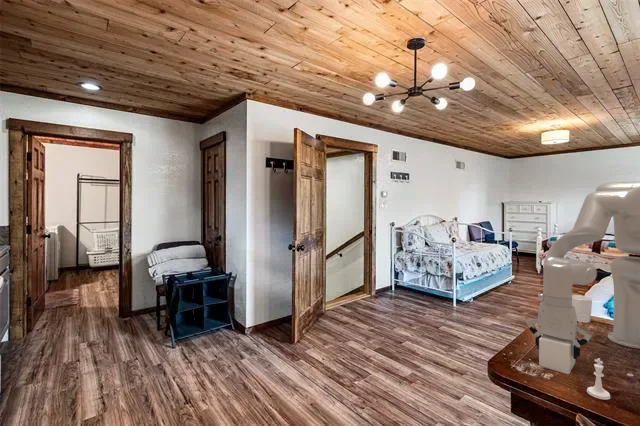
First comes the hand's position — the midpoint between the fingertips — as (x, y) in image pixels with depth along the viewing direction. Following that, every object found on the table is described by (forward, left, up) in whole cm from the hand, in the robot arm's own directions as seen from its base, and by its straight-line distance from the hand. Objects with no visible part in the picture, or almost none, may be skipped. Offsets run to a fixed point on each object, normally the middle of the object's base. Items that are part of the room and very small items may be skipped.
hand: (557, 352), depth 107 cm
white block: (0, 0, -4) cm, 4 cm away
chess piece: (+4, +16, -4) cm, 17 cm away
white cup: (-44, -28, -4) cm, 52 cm away
